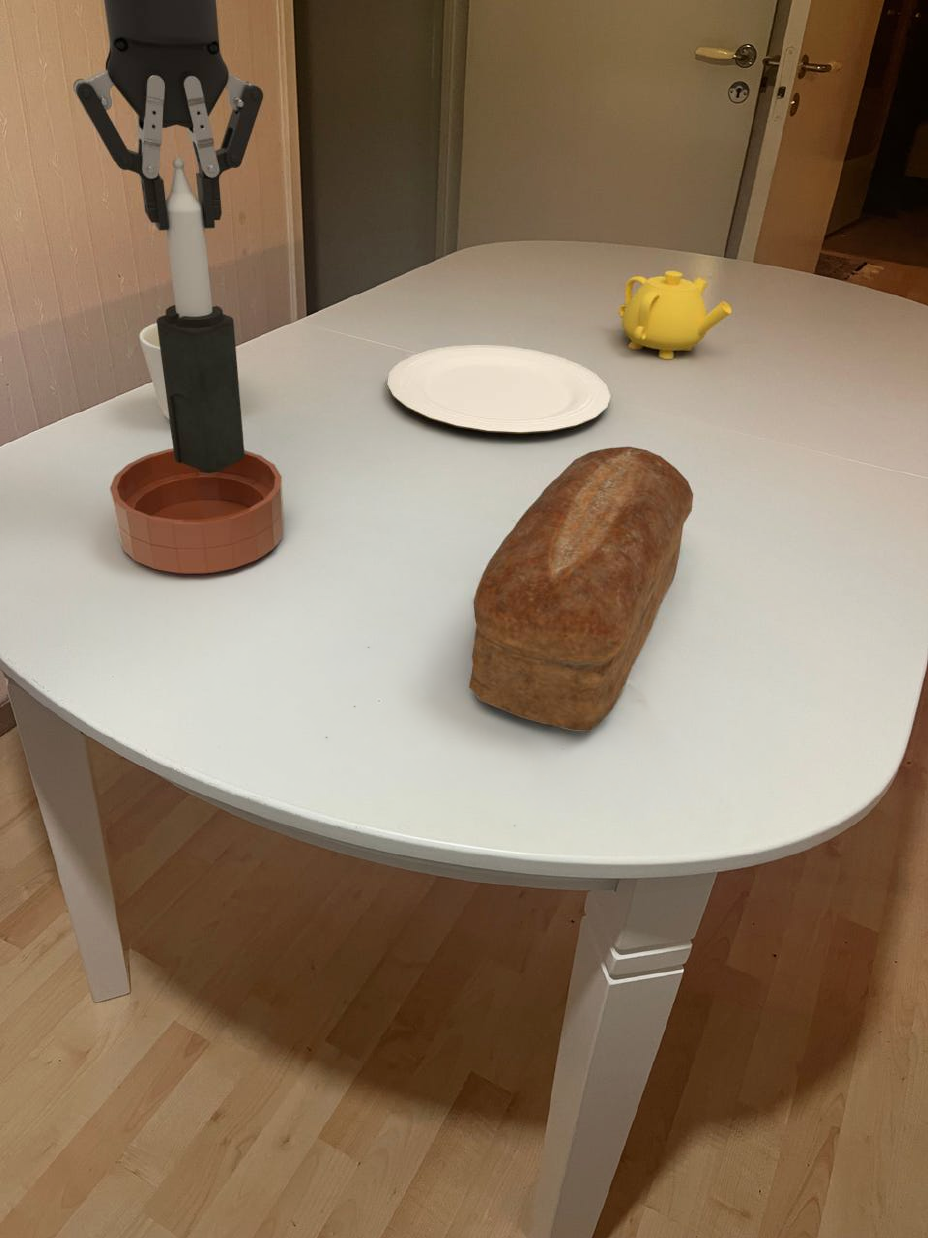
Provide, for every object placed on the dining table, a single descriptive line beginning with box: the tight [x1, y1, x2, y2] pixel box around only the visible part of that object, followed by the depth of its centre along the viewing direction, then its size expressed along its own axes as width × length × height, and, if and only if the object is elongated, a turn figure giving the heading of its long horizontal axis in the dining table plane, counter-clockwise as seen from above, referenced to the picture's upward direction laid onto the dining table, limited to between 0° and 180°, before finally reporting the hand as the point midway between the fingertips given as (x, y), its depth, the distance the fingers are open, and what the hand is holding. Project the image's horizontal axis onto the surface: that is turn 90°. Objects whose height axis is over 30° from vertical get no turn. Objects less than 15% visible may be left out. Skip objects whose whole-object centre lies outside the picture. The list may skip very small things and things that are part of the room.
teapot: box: [618, 270, 732, 360], centre depth 138 cm, size 14×14×11 cm
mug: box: [138, 322, 170, 421], centre depth 108 cm, size 14×10×10 cm
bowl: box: [109, 448, 285, 575], centre depth 87 cm, size 15×15×6 cm
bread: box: [468, 446, 694, 732], centre depth 77 cm, size 12×31×14 cm, turn 157°
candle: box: [156, 157, 245, 473], centre depth 77 cm, size 5×5×25 cm
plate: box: [387, 344, 611, 435], centre depth 121 cm, size 29×29×2 cm
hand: (184, 225), depth 73 cm, fingers closed on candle, 3 cm apart
